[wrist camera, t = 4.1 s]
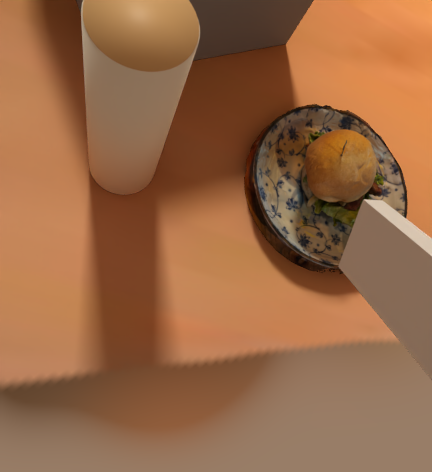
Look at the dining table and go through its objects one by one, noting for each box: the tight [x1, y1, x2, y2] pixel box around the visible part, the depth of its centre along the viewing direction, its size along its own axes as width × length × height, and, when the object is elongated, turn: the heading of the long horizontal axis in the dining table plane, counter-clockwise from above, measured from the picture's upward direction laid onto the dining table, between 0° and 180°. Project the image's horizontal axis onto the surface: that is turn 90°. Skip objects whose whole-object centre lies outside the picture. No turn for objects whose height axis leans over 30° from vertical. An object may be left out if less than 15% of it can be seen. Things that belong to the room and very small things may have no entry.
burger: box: [244, 104, 407, 274], centre depth 25 cm, size 12×12×8 cm
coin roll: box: [81, 0, 200, 195], centre depth 19 cm, size 4×4×12 cm
